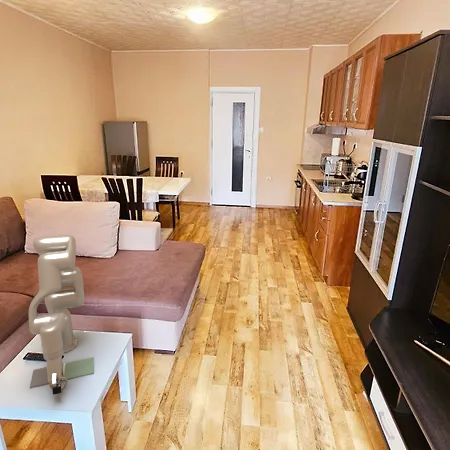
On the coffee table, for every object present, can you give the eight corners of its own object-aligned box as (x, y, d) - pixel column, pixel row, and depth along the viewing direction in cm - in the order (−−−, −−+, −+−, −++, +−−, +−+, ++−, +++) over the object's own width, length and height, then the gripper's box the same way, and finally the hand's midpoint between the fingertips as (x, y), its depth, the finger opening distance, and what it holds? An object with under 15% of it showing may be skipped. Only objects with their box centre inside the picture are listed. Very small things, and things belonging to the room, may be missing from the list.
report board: (33, 370, 151) (33, 369, 151) (93, 358, 160) (93, 356, 160) (29, 388, 141) (29, 387, 141) (94, 373, 151) (93, 372, 150)
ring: (68, 385, 144) (66, 370, 141) (67, 391, 141) (65, 376, 138) (51, 388, 142) (48, 373, 139) (49, 394, 139) (47, 379, 136)
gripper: (45, 340, 141) (50, 373, 146) (40, 367, 125) (46, 403, 130) (64, 337, 143) (69, 369, 148) (61, 363, 128) (66, 398, 133)
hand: (58, 385), depth 139 cm, fingers open, 9 cm apart
